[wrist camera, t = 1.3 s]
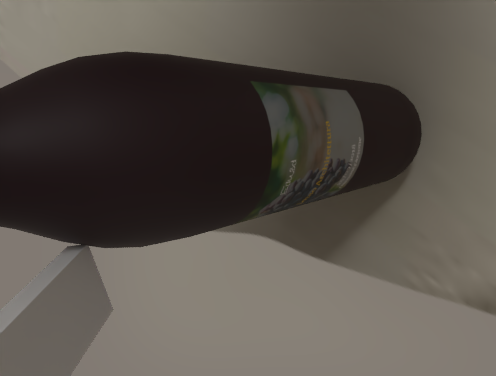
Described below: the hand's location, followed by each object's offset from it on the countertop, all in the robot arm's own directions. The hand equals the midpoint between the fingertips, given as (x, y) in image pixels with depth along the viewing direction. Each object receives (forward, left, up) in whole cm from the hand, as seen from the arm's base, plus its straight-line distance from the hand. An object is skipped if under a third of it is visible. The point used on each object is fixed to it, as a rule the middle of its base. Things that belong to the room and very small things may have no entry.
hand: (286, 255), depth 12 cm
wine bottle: (-3, +1, -19) cm, 19 cm away
